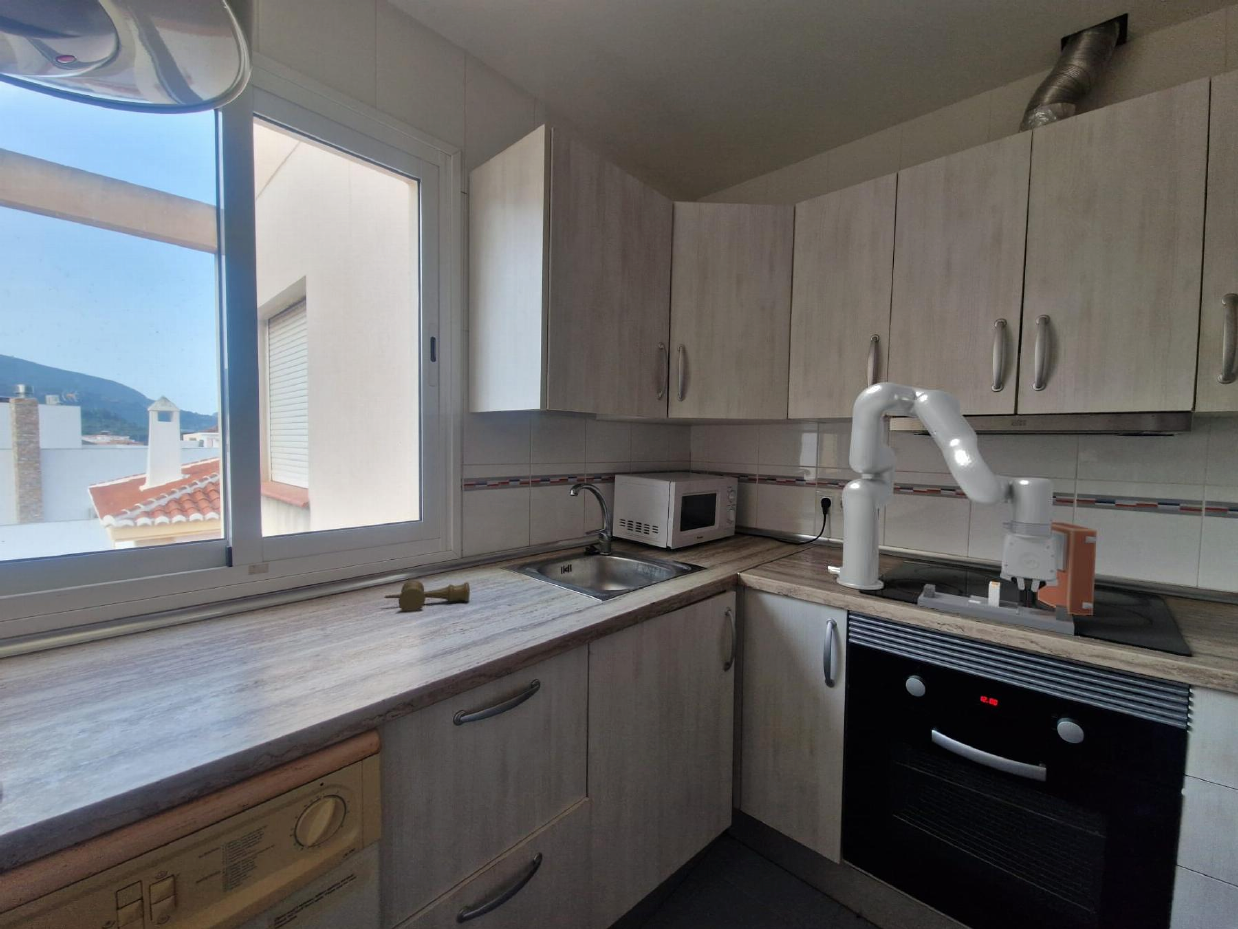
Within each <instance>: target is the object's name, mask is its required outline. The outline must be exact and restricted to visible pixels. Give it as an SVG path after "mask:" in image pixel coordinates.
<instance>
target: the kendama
mask: <svg viewBox="0 0 1238 929" xmlns="http://www.w3.org/2000/svg"><path fill="white" fill-rule="evenodd" d="M470 590H471V589H470V583H469V582H467V581H466V582H464V583H463V584H459V585H453V584H449V585H448V586H446V587H442V588H438V589H434V590H427V591H425V586H424V584H423V583H422V582H420V581H419V580H410V581H407V582H405V583H404V584H403V585H402V587H401V591H400V593H399V594H388V595H385V596H383V598H384V599H398V606H399V608H400V609H401V610H402V611H404V612H405V613H410V612H411V613H413V612H418V611H420V610H421V609H423V607H424V605H425V602H426V598H428V599H442V600H446V601H448V602H450V603H451V602H454V601H463V602H465V603H468V602H469V600H470V595H471V594H470V593H471V591H470Z"/></svg>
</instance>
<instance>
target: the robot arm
mask: <svg viewBox="0 0 1238 929" xmlns="http://www.w3.org/2000/svg"><path fill="white" fill-rule="evenodd" d="M884 414H892V415H893V414H894V415H900V416H906V417H910V418H915V419H919V420H920V421H921V423H922V424H923V426H924V427H925V428H926V430H927V431H928V433H929V435H930V436H931V437H932V439H934V442H935V443H936V445H937V446H938V447H939V449H940V450H941V452H942V457H943V458H944V461H945V462H946V464H947V467H948V469H949V472H950V474H951V475H952V477H953V479H954V480H955V481H956V484H958V487H960V489H961V490H962V491H963V493H964V494H965V496H966V497H967V498H968V499H969V500H970V501H971V502H972V503H974V504H975V505H977V506H980V507H984V508H985V507H986V508H988V507H994V506H1002V505H1010V506H1011V507H1010V521H1007V522H1002V528H1003V529H1007V530H1008V531H1009V532H1006V534H1005V537H1004V541H1003V546H1002V554H1001V572H1000V574H999V577H1000V578H1002V579H1003V580H1007V581H1010V582H1012V583H1013V584H1014V585H1015V586H1016V587H1017V588H1018V589H1019V599H1018V600H1019V603H1022V607H1027V608H1032V605H1036V599H1037V593H1038V590H1039V589H1041V588H1043V587H1044V586H1057V585H1058V580H1057V571H1058V560H1057V545H1056V540H1055V538H1054V537H1051V526H1052V524H1051V523H1052V522H1053V521H1052V520H1053V502H1054V501H1053V500H1054V499H1053V497H1054V483H1053V482H1052V480H1051V479H1048V478H1042V477H1013V476H1006V475H1002V474H1001V475H1000V474H999V475H997V474H994V473H993V472H992V470H991V469H990V467H989V466H988V465H987V464H986V462H985V461H984V460H985V459H983V457H982V455H981V454H980V450H979V448H978V447H979V446H978V435H977V432H975V430H974V429H973V427H972V426H971V425H970V424H969V422H968V421H967V419H966V418H965V417H964V416H963V414H962V412H961V403H960V401H959V399H958V398H957V396H956V395H954V394H953V393H951V392H948V391H943V390H941V389H926V388H925V389H924V388H920V387H919V388H918V387H913V386H908V385H904V384H899V383H894V382H887V381H884V382H878V383H875V384H872V385H870V386H868V387H867V388H865V389H863V391H862V392H860V394H859V395H858V396H857V398H856V399H855V402H854V405H853V410H852V421H851V422H852V425H851V433H850V446H849V447H850V448H849V456H848V458H849V459H848V460H849V466H850V469H852V471H853V472H856V473H857V474H860V475H861V478H855V479H853V480H850V481H849V482H848V483H846V484H845V486H844V487H843V490H842V493H841V502H842V503H841V504H842V510H843V511H842V512H843V543H842V545H843V548H842V550H843V551H842V566H839V567H837V566H833V565H829V566H828V569H827V570H828V572H829V574H833V575H838V576H837V577H836V582H837V583H838V584H839V585H840V586H844V587H847V588H852V589H855V590H856V589H857V590H868V591H870V590H871V591H872V590H874V591H875V590H881V589H883V588H884V582H883V581H881V580H879V555H880V554H879V553H880V550H879V549H880V548H879V547H880V521H879V520H880V519H879V514H878V509H882V508H884V507H886V506H888V504H889V503H890V502H891V501H892V498H893V494H894V487H895V486H894V484H895V477H896V476H895V473H896V454H895V452H894V450H893V449H892V448H891V447H890V446H889V445H888V444H886V443H884V433H885V426H884V425H885V424H884V419H883V417H884ZM1025 579H1028V580H1032V583H1031V586H1029V589H1028V588H1027V586H1026V584H1025Z"/></svg>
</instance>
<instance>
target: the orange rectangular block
mask: <svg viewBox="0 0 1238 929" xmlns="http://www.w3.org/2000/svg"><path fill="white" fill-rule="evenodd" d="M1051 524H1052V526H1051V537H1054V538H1055V540H1056V545H1057V560H1058V571H1057V580H1058V585H1057V586H1044V587H1043V588H1041V589H1039V590H1038V591H1037V600H1039V601H1041V602H1043V603H1044V604H1047V605H1048V606H1050V607H1052V606H1053V607H1052V608H1054V609H1056V605H1062V606H1067V608H1068V614H1069V615H1072V614H1073V615H1075V616H1086V615H1094V600H1095V599H1094V598H1095V597H1094V595H1095V594H1094V593H1095V575H1096V559H1097V558H1096V557H1097V556H1096V554H1097V552H1096V551H1097V539H1098V538H1097V537H1098V536H1097V532H1098V531H1097V530H1096V529H1094V528H1090V527H1084V526H1081V525H1080V526H1079V525H1075V524H1071V523H1066V522H1059V521H1058V522H1055V521H1052V523H1051ZM1073 615H1072V616H1073Z"/></svg>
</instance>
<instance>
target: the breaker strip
mask: <svg viewBox="0 0 1238 929" xmlns="http://www.w3.org/2000/svg"><path fill="white" fill-rule="evenodd" d="M988 599H989V597H982V596H979V595H977V596H976V595H972V594H971V595H970V596H969V597H966V596H960V595H955V594H949V593H942V592H937V591H936V584H929V583H926V584H925V585H924V586H923V591H922V593H921V594H920V595H919V596H918V598H917V606H918V605H919V606H918V607H920V606H925V607H928V608H927V609H930V608H935V609H934V610H936V609H938V610H937V611H942V612H946V611H948V613H953V614H957V613H959V614H958V615H962V616H969V617H975V618H978V619H979V618H980V619H985V620H988V621H989V620H990V621H995V622H1000V623H1006V624H1011V625H1018V626H1022V627H1028V628H1032V629H1033V628H1034V629H1039V630H1043V631H1050V632H1055V633H1060V634H1065V635H1070V636H1074V635H1075V623H1074V618H1073V615H1072V614H1068V608H1067V606H1062V605H1056V608H1055V611H1050V610H1044V609H1039V608H1034V607H1031V608H1029V607H1028V606H1027V607H1023V606H1021V605H1019V604H1018V602H1014V601H1007V600H1001V599H1000V604H999V607H998V606H992V605H988ZM925 607H924V608H925Z"/></svg>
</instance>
